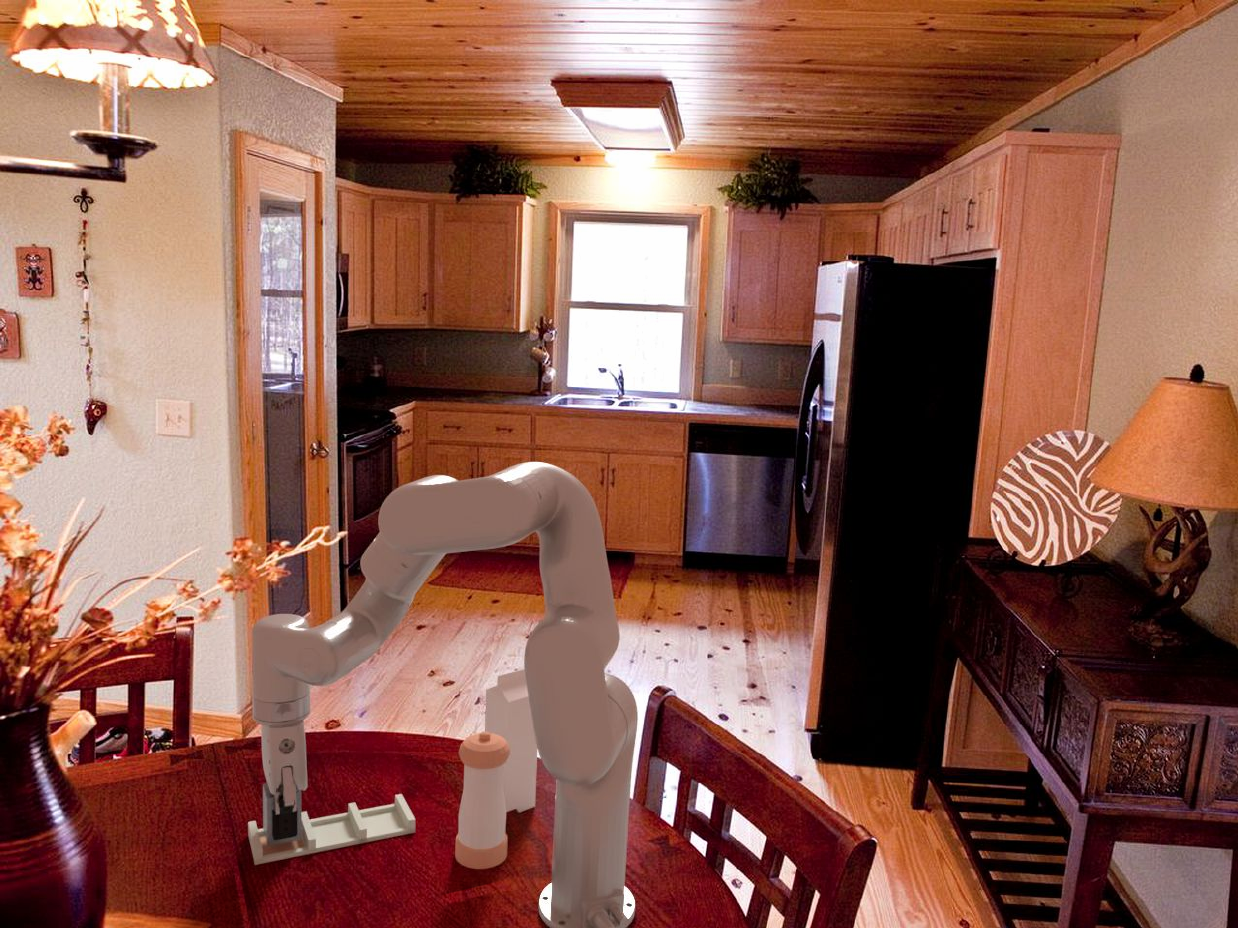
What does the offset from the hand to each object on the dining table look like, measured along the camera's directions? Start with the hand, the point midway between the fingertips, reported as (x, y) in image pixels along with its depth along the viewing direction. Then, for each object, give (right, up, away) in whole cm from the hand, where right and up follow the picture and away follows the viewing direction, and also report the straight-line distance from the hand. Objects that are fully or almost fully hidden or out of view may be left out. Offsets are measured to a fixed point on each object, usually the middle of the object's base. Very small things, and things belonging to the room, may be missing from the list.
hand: (282, 826), depth 134 cm
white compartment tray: (+6, -3, +4) cm, 8 cm away
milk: (+30, -3, +16) cm, 34 cm away
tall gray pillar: (0, -1, 0) cm, 1 cm away
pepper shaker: (+28, -5, +1) cm, 28 cm away
